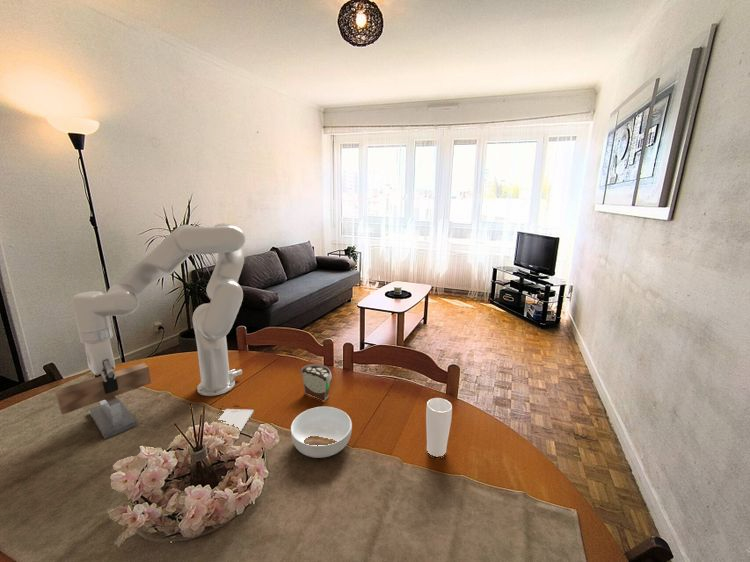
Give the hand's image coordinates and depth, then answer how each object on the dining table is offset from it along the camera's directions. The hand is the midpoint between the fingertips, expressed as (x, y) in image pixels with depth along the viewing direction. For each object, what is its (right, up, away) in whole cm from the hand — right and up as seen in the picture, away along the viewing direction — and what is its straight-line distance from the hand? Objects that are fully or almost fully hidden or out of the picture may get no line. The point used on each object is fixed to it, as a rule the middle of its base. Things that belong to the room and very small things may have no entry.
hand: (107, 385), depth 104 cm
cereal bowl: (+67, -15, -7) cm, 69 cm away
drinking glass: (+99, -16, -9) cm, 100 cm away
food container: (+62, -9, +18) cm, 65 cm away
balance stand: (0, -11, +3) cm, 12 cm away
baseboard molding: (+36, -15, -7) cm, 39 cm away
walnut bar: (0, -3, +1) cm, 3 cm away
